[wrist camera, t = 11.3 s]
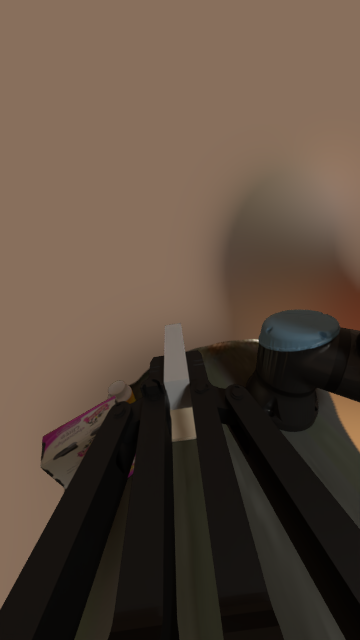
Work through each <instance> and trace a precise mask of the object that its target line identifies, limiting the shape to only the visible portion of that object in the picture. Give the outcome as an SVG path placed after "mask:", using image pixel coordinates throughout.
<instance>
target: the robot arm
mask: <svg viewBox="0 0 360 640" xmlns="http://www.w3.org/2000/svg"><path fill="white" fill-rule="evenodd" d="M164 349H165V350H164V356H159V357H154V358H153V359H152V361H151V362H150V370H149V378H148V379H147V380H145V381H144V382H143V383H142V384H141V387H140V389H141V392H142V395H143V397H142V398H141V399H139V400H137V401H135V402H133V403H131V404H129V403H128V402H126V401H121V402H118V403H116V404H115V405H113V406H112V407H111V409H110V410H109V412H108V413H107V415H106V417H105V419H104V421H103V423H102V424H101V426H100V428H99V430H98V432H97V434H96V435H95V437H94V439H93V441H92V443H91V445H90V446H89V448H88V450H87V452H86V454H85V456H84V457H83V459H82V461H81V463H80V465H79V467H78V468H77V470H76V472H75V474H74V476H73V478H72V479H71V481H70V483H69V485H68V487H67V489H66V490H65V492H64V494H63V496H62V498H61V500H60V501H59V503H58V505H57V507H56V509H55V511H54V513H53V514H52V516H51V518H50V520H49V522H48V523H47V525H46V527H45V529H44V531H43V533H42V534H41V536H40V538H39V540H38V542H37V544H36V546H35V547H34V549H33V551H32V553H31V555H30V556H29V558H28V560H27V562H26V564H25V566H24V567H23V569H22V571H21V573H20V575H19V577H18V578H17V580H16V582H15V584H14V586H13V587H12V589H11V591H10V593H9V595H8V597H7V598H6V600H5V602H4V604H3V606H2V608H1V609H0V640H74V639H75V636H76V633H77V630H78V627H79V623H80V620H81V617H82V614H83V611H84V608H85V605H86V602H87V599H88V596H89V593H90V590H91V587H92V584H93V581H94V578H95V575H96V572H97V569H98V566H99V563H100V560H101V557H102V554H103V551H104V548H105V545H106V542H107V539H108V536H109V533H110V530H111V527H112V524H113V521H114V518H115V515H116V512H117V509H118V506H119V503H120V500H121V497H122V494H123V491H124V488H125V485H126V482H127V479H128V476H129V473H130V469H131V466H132V463H133V460H134V457H135V463H134V471H133V478H132V485H131V493H130V500H129V508H128V515H127V523H126V530H125V537H124V545H123V552H122V560H121V567H120V574H119V582H118V589H117V597H116V604H115V612H114V618H113V624H112V628H111V632H110V635H109V638H108V640H179V631H178V623H177V601H176V564H175V528H174V491H173V454H172V419H171V415H170V408H171V410H176V409H183V408H190V407H192V409H193V417H194V424H195V431H196V438H197V446H198V453H199V460H200V468H201V475H202V482H203V489H204V497H205V504H206V511H207V519H208V526H209V533H210V540H211V548H212V555H213V562H214V569H215V577H216V584H217V591H218V599H219V606H220V613H221V621H222V629H223V636H224V640H284V638H283V635H282V632H281V629H280V626H279V624H278V621H277V618H276V616H275V613H274V611H273V608H272V605H271V602H270V598H269V595H268V592H267V588H266V584H265V581H264V577H263V573H262V570H261V566H260V562H259V559H258V555H257V551H256V548H255V544H254V540H253V537H252V533H251V530H250V526H249V522H248V519H247V515H246V511H245V508H244V504H243V500H242V497H241V493H240V489H239V486H238V482H237V479H236V475H235V471H234V468H233V464H232V460H231V457H230V453H229V449H228V446H227V442H226V438H225V435H224V431H223V427H222V424H221V423H223V424H227V426H228V428H229V430H230V432H231V433H232V435H233V437H234V439H235V441H236V442H237V444H238V446H239V448H240V450H241V451H242V453H243V455H244V457H245V459H246V460H247V462H248V464H249V466H250V468H251V469H252V471H253V473H254V475H255V477H256V478H257V480H258V482H259V484H260V486H261V487H262V489H263V491H264V493H265V495H266V496H267V498H268V500H269V502H270V504H271V506H272V507H273V509H274V511H275V513H276V515H277V516H278V518H279V520H280V522H281V524H282V525H283V527H284V529H285V531H286V533H287V534H288V536H289V538H290V540H291V542H292V543H293V545H294V547H295V549H296V551H297V552H298V554H299V556H300V558H301V560H302V561H303V563H304V565H305V567H306V569H307V570H308V572H309V574H310V576H311V578H312V579H313V581H314V583H315V585H316V587H317V588H318V590H319V592H320V594H321V596H322V597H323V599H324V601H325V603H326V605H327V606H328V608H329V610H330V612H331V614H332V615H333V617H334V619H335V621H336V623H337V624H338V626H339V628H340V630H341V632H342V633H343V635H344V637H345V639H346V640H360V529H359V528H358V526H357V525H356V524H355V523H354V521H353V520H352V519H351V518H350V517H349V515H348V514H347V513H346V512H345V510H344V509H343V508H342V507H341V505H340V504H339V503H338V502H337V500H336V499H335V498H334V497H333V496H332V494H331V493H330V492H329V491H328V489H327V488H326V487H325V486H324V484H323V483H322V482H321V481H320V479H319V478H318V477H317V476H316V475H315V473H314V472H313V471H312V470H311V468H310V467H309V466H308V465H307V463H306V462H305V461H304V460H303V458H302V457H301V456H300V455H299V454H298V452H297V451H296V450H295V449H294V447H293V446H292V445H291V444H290V442H289V441H288V440H287V439H286V437H285V436H284V435H283V434H282V432H281V431H280V430H284V431H290V432H297V431H303V430H306V429H308V428H309V427H310V426H312V424H313V423H314V421H315V419H316V417H317V414H318V402H317V395H316V390H315V389H316V387H317V388H320V389H323V390H326V391H329V392H331V393H334V394H337V395H340V396H343V397H346V398H349V399H352V400H354V401H357V402H360V331H358V330H352V329H346V328H341V327H340V326H339V323H338V321H337V320H336V319H335V318H334V317H332V316H330V315H328V314H323V313H322V312H318V311H311V310H287V311H282V312H279V313H275V314H273V315H271V316H270V317H268V318H267V319H266V320H265V321H264V323H263V325H262V329H261V333H260V336H259V347H258V356H257V364H256V370H255V372H254V373H253V375H252V376H251V377H250V378H249V380H248V382H247V385H246V389H245V388H244V387H243V386H241V385H236V384H234V385H230V386H228V387H227V388H226V389H223V388H218V387H215V386H213V385H212V384H211V383H210V382H209V380H208V377H207V373H206V370H205V366H204V362H203V359H202V355H201V353H200V352H199V351H198V350H197V351H190V352H185V348H184V341H183V334H182V327H181V323H178V324H172V325H165V347H164ZM279 429H280V430H279ZM135 454H136V456H135Z"/></svg>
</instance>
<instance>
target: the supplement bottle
mask: <svg viewBox="0 0 360 640" xmlns="http://www.w3.org/2000/svg"><path fill="white" fill-rule="evenodd" d="M108 393H109V395H108V399H109V398H111V397H113V396H114V395H115V396H116V398H117V400H118V402H121V401H126V402H128V403H129V404H131V403H133V402H135V401H136V400H135V397H134V394H133V392H132V389H131V387H130V386H129V385H126V384H125V382H124V381H121V380H119V381H116V382H114V383H112V384H111V385H110V386H109V388H108Z"/></svg>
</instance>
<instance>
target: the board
mask: <svg viewBox="0 0 360 640" xmlns="http://www.w3.org/2000/svg"><path fill="white" fill-rule="evenodd" d="M170 415H171V419H172V442H174V441H181V440H188V439H195V438H196V431H195V424H194V417H193V409H192V407H190V408H183V409H176V410H171V408H170Z"/></svg>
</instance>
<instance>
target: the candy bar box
mask: <svg viewBox="0 0 360 640" xmlns="http://www.w3.org/2000/svg"><path fill="white" fill-rule="evenodd" d="M116 403H118V400H117V398H116V396H115V395H114V396H113V397H111V398H109V399H107V400H106V401H104V402H102V403H101V404H99V405H97V406H95V407H94V408H92V409H90V410H88V411H87V412H85V413H83V414H81V415H80V416H78V417H76V418H74V419H73V420H71V421H69V422H67V423H66V424H64V425H62V426H60V427H59V428H57V429H55V430H53V431H52V432H50V433H48V434H46V435H45V436H43V440H42V456H41V468H42V469H43V470H44V471H45V472H46V473H47V474H49V475H50V476H51V477H52V478H53V479H55V480H56V481H57V482H58V483H59V484H61V485H62V486H63V487H64V488H65V489H67V487H68V485H69V483H70V481H71V479H72V478H73V476H74V474H75V472H76V470H77V468H78V467H79V465H80V463H81V461H82V459H83V457H84V456H85V454H86V452H87V450H88V448H89V446H90V445H91V443H92V441H93V439H94V437H95V435H96V434H97V432H98V430H99V428H100V426H101V424H102V423H103V421H104V419H105V417H106V415H107V413H108V412H109V410H110V409H111V407H112V406H113V405H115V404H116ZM135 456H136V454H135ZM134 463H135V457H134V460H133V463H132V466H131V469H130V473H129V476H128V478H129V477H130V476H132V475H133V471H134Z"/></svg>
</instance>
